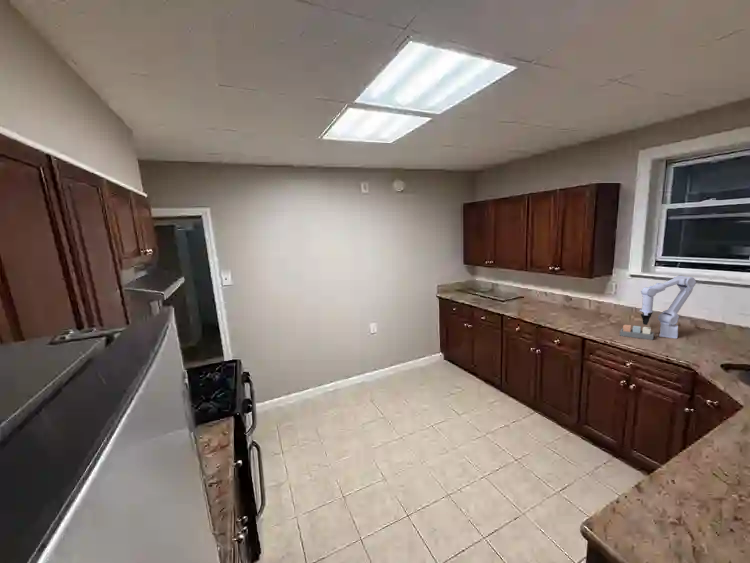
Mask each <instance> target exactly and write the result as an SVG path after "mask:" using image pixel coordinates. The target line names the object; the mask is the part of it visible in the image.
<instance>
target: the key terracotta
mask: <svg viewBox="0 0 750 563" xmlns="http://www.w3.org/2000/svg"><path fill="white" fill-rule="evenodd" d="M622 328H623V331H627V332H631V329H632V325H631V324H623V326H622Z"/></svg>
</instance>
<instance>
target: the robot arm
mask: <svg viewBox="0 0 750 563" xmlns="http://www.w3.org/2000/svg"><path fill="white" fill-rule="evenodd" d="M696 284H697V281H696V278H695V277H693V276H684V275H677V276H674V277H673V278H672V279H670V280H667V281H664V282H663V283H662V282H656V283H655V284H653V285H650V286H648V287H647V286H645V287H643V288H642V289H641V290H640V293H641V295H642V305H641V309H639V312H641V313H640V316H641V320H642V324H643V325H644V326H646V325H648V324H649V321H650V318H651V317H652V314H653V312H654V311H653V308H654V297H655V296H656V295H657V294H658V293H661V292H663V291H665V290H666V289H667V288H669V287H672V286H673V287H674V286H675V285H676V286H677V287H678V288H679V290H680V291H679V292H678V293H677V295H676V297H675V298H674V300H673V301H672V302H671V304H670V305H669V307H668V308H667V309H665V310H663V311H662V312H661V313H660V314H658V317H657V319H658V320H657V321H659V323H660V329H659V334H658V337H661V338H668V339H669V338H670V339H678V336H679V325H678V321H679V318H680V315H679V314H678V313H679V312H680V310H681V309H682V307H683V305H684V304H685V303H686V302H687V300H688V299H689V297H690V296H691V294H692V293H693V290H694V287H695V286H696Z"/></svg>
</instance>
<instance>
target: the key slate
mask: <svg viewBox="0 0 750 563" xmlns="http://www.w3.org/2000/svg"><path fill="white" fill-rule="evenodd" d="M632 329H633V332H636V333H640V332H641V330H642V326H640V325H633V326H632Z"/></svg>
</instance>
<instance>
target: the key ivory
mask: <svg viewBox="0 0 750 563" xmlns="http://www.w3.org/2000/svg"><path fill="white" fill-rule="evenodd" d="M651 328H652V327H649V326H648V327H647V326H642V331H643V332H642V333H644V334H650V333H651V332H652V329H651Z"/></svg>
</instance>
